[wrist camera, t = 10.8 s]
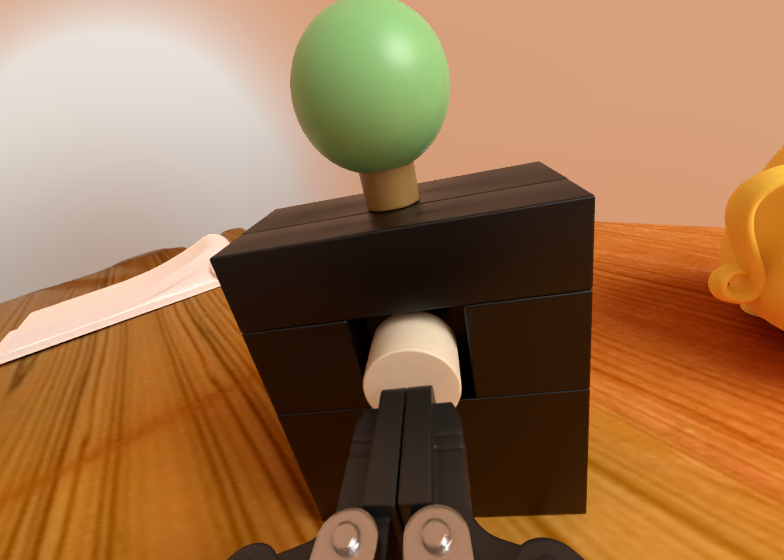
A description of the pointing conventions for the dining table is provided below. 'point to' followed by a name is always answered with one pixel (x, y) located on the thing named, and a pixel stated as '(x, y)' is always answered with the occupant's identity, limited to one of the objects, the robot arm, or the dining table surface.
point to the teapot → (754, 246)
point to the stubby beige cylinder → (413, 357)
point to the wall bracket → (117, 301)
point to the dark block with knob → (419, 273)
